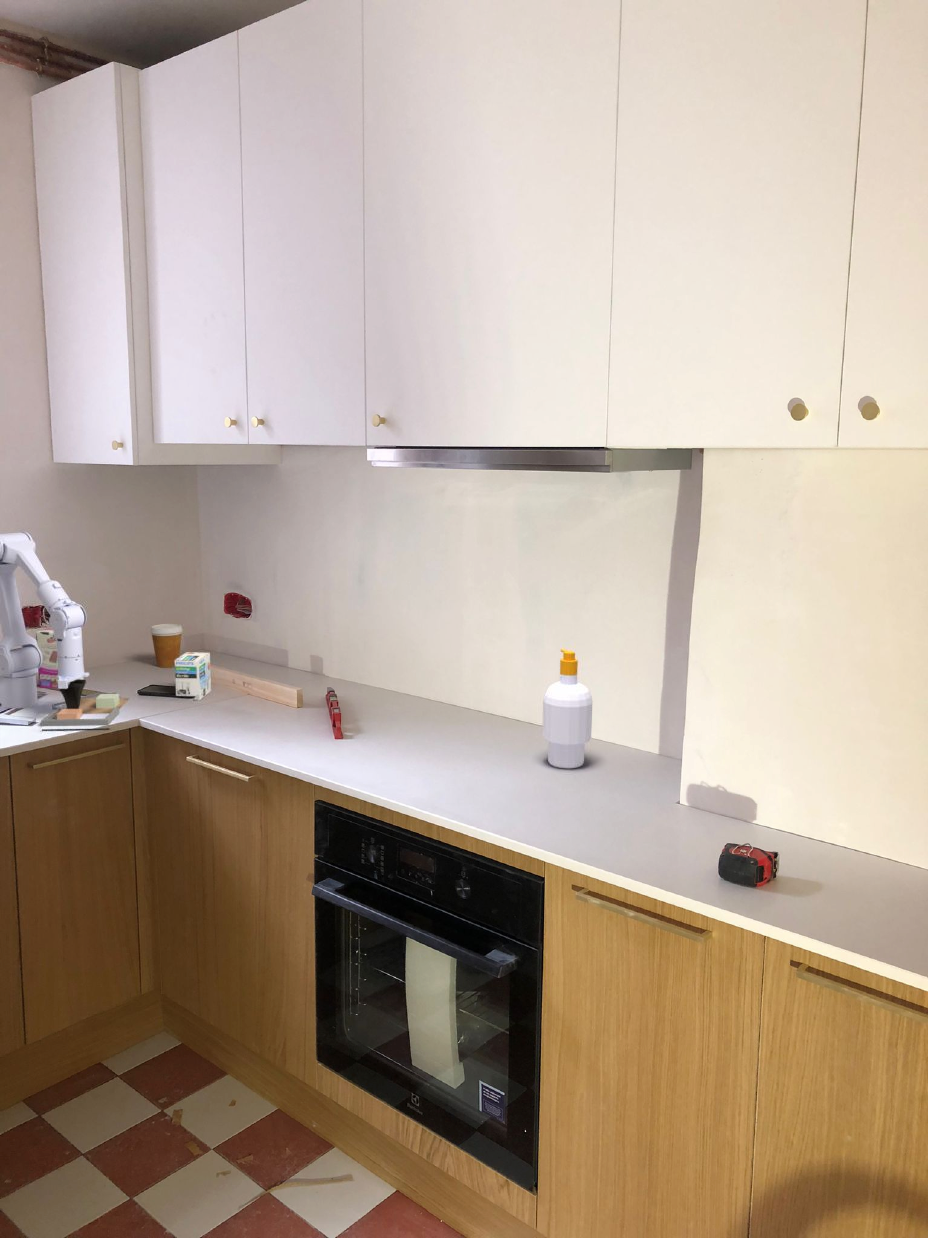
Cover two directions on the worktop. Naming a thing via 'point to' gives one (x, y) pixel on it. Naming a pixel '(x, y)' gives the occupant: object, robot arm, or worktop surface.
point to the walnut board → (90, 708)
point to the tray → (77, 721)
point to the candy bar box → (48, 659)
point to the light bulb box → (193, 675)
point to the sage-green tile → (107, 701)
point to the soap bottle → (567, 716)
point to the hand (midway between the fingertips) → (73, 710)
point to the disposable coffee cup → (166, 643)
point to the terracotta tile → (69, 714)
